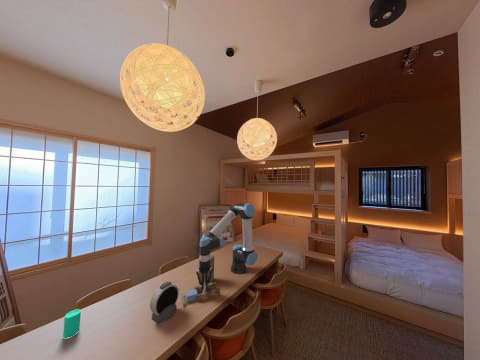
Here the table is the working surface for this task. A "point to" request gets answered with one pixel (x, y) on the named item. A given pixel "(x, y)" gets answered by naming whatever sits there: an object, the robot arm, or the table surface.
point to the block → (191, 295)
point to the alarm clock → (164, 302)
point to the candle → (71, 323)
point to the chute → (203, 294)
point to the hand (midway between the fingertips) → (204, 293)
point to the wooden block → (209, 270)
